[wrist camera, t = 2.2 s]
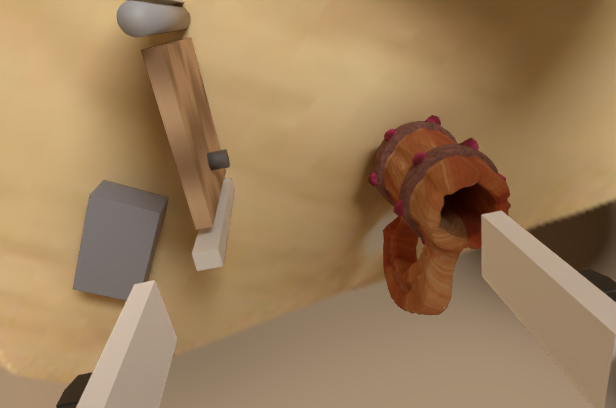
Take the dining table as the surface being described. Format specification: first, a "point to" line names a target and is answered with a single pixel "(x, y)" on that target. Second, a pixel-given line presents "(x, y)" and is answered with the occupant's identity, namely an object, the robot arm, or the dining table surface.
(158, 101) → the door
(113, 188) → the block
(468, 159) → the mug
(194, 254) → the doorframe
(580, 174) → the dining table surface
